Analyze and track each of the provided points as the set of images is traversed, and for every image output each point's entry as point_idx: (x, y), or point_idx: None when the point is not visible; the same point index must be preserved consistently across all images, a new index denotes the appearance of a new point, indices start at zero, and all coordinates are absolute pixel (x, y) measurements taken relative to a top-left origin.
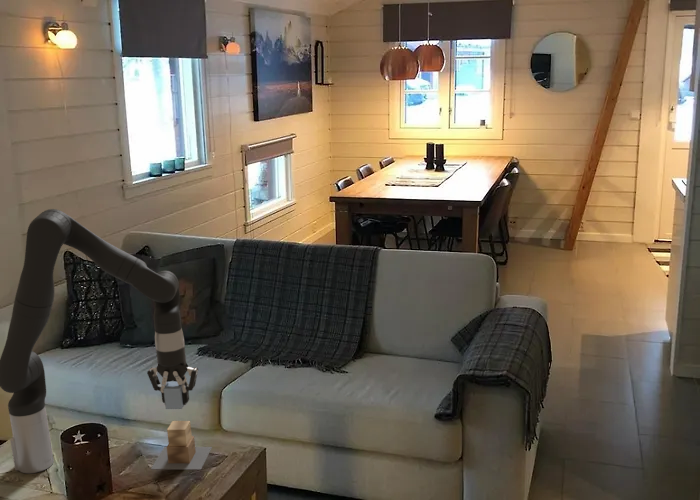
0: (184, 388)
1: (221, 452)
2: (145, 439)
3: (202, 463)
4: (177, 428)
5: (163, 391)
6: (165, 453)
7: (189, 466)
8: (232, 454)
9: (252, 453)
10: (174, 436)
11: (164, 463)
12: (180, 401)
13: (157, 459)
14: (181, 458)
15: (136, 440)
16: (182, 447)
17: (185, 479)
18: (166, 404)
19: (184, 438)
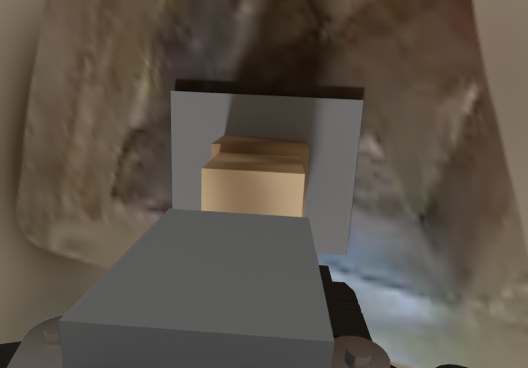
0: (31, 354)
1: (139, 218)
2: (429, 317)
3: (176, 132)
4: (248, 183)
5: (345, 347)
6: (332, 208)
7: (219, 112)
8: (98, 203)
9: (32, 206)
10: (268, 164)
11: (319, 137)
12: (149, 234)
13: (352, 168)
14: (251, 139)
15: (461, 313)
16: (236, 145)
17: (218, 41)
18: (299, 232)
19: (219, 159)
